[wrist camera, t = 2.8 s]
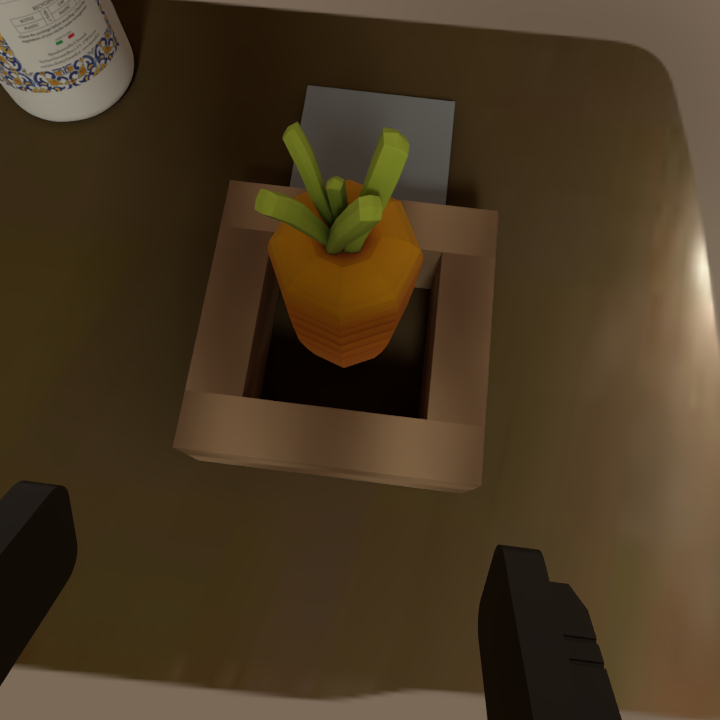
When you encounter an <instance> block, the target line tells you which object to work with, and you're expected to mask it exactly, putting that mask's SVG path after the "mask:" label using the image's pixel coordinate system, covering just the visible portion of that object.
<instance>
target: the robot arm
mask: <svg viewBox="0 0 720 720" xmlns="http://www.w3.org/2000/svg"><path fill="white" fill-rule="evenodd" d="M76 557H77V540H76V534H75V528H74V522H73V516H72V511H71V505H70V499H69V494H68V491H67V489H66V488H65V487H64V486H61V485H53V484H45V483H38V482H30V481H20V482H18V483H16V484H15V485H14V486H13V487H12V488H11V489H10V490H9V491H8V492H7V493H6V494H5V495H4V497H3V498H2V499H1V500H0V686H1V684H2V682H3V681H4V679H5V678H6V676H7V675H8V673H9V672H10V670H11V669H12V667H13V665H14V664H15V662H16V661H17V659H18V658H19V656H20V654H21V653H22V651H23V650H24V648H25V647H26V645H27V644H28V642H29V640H30V639H31V637H32V636H33V634H34V633H35V631H36V630H37V628H38V626H39V625H40V623H41V622H42V620H43V619H44V617H45V615H46V614H47V612H48V611H49V609H50V608H51V606H52V605H53V603H54V601H55V600H56V598H57V597H58V595H59V594H60V592H61V591H62V589H63V587H64V586H65V584H66V583H67V581H68V579H69V578H70V576H71V574H72V571H73V569H74V565H75V562H76ZM478 638H479V647H480V656H481V665H482V674H483V683H484V692H485V701H486V709H487V719H488V720H622V719H621V716H620V713H619V709H618V706H617V703H616V700H615V697H614V693H613V690H612V687H611V684H610V680H609V677H608V674H607V671H606V669H604V661H603V658H602V655H601V651H600V648H599V645H598V644H596V639H597V638H596V635H595V632H594V629H593V626H592V622H591V619H590V616H589V613H588V610H587V609H586V607H585V606H584V604H583V603H582V602H581V600H580V599H579V598H578V596H577V595H576V594H575V592H574V591H573V590H572V588H571V587H570V586H569V584H564V583H556V582H550V581H549V577H548V573H547V569H546V566H545V562H544V558H543V555H542V553H541V551H540V550H536V549H529V548H521V547H513V546H506V545H497V547H496V549H495V552H494V555H493V558H492V562H491V565H490V569H489V572H488V576H487V579H486V583H485V586H484V590H483V593H482V597H481V601H480V606H479V614H478Z"/></svg>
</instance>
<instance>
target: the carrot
mask: <svg viewBox="0 0 720 720" xmlns="http://www.w3.org/2000/svg"><path fill="white" fill-rule="evenodd" d="M283 140H284V143H285V145H286V147H287V149H288V151H289V153H290V155H291V157H292V159H293V161H294V162H295V164H296V166H297V168H298V171H299V173H300V175H301V177H302V180H303V182H304V184H305V187H306V189H307V191H308V192H305V193H302V194H298V195H296V197H295V199H294V198H291V197H289V196H287V195H285V194H283V193H280V192H275V191H270V190H265V189H260V191H259V193H258V195H257V197H256V201H255V210H256V211H258V212H260V213H261V214H263V215H266V216H268V217H270V218H272V219H275V220H278V221H281V222H280V224H279V226H278V227H277V229H276V231H275V232H274V234H273V236H272V237H271V239H270V241H269V244H268V254H269V257H270V260H271V263H272V266H273V269H274V272H275V275H276V278H277V281H278V284H279V287H280V290H281V293H282V296H283V299H284V302H285V305H286V308H287V310H288V313H289V316H290V319H291V322H292V325H293V327H294V330H295V332H296V334H297V336H298V339H299V340H300V341H301V343H302V344H303V345H304V346H305V347H306V348H307V349H309V350H310V351H311V352H312V353H314V354H315V355H317V356H319V357H321V358H323V359H326V360H328V361H330V362H332V363H334V364H336V365H338V366H340V367H342V368H346V367H349V366H352V365H355V364H358V363H361V362H364V361H367V360H370V359H373V358H375V357H376V356H377V355H379V354H380V353H381V352H382V351H383V350H384V349H385V347H386V346H387V345H388V343H389V341H390V339H391V337H392V335H393V333H394V331H395V329H396V327H397V325H398V323H399V321H400V319H401V317H402V315H403V313H404V311H405V309H406V307H407V305H408V302H409V300H410V297H411V295H412V292H413V290H414V287H415V284H416V281H417V278H418V275H419V272H420V269H421V266H422V263H423V254H422V252H421V249H420V247H419V244H418V242H417V239H416V237H415V234H414V232H413V230H412V227H411V225H410V222H409V220H408V218H407V215H406V213H405V210H404V208H403V206H402V203H401V201H399V200H396V199H394V198H392V197H391V195H392V193H393V190H394V188H395V186H396V184H397V182H398V180H399V177H400V175H401V172H402V170H403V167H404V165H405V162H406V160H407V157H408V153H409V146H410V144H409V142H408V139H407V138H406V137H405V136H404V135H403V134H401V133H400V132H399V131H398V130H397V129H392V128H385V127H383V129H382V132H381V135H380V137H379V140H378V143H377V145H376V148H375V151H374V153H373V156H372V159H371V162H370V166H369V169H368V172H367V175H366V178H365V181H364V184H363V185H362V184H359V183H357V182H355V181H353V180H346V181H345V180H344V179H342V178H340V177H338V176H335V177H331V178H329V180H328V181H327V185H326V187H325V184H324V181H323V178H322V175H321V172H320V169H319V166H318V163H317V160H316V157H315V154H314V151H313V149H312V147H311V145H310V143H309V141H308V139H307V137H306V135H305V133H304V131H303V130H302V128H301V127H300V125H299V123H298V122H296V123H294V124H292V125H290V126H288V127H287V129H286V131H285V133H284V134H283Z"/></svg>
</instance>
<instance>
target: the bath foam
mask: <svg viewBox="0 0 720 720" xmlns="http://www.w3.org/2000/svg"><path fill="white" fill-rule="evenodd" d="M115 11H116V10H115V8H114V5H113V3H112V1H111V0H0V83H1V84H2V86H3V87H4V88H5V89H6V91H7V92H8V93H9V95H10V96H11V97H12V98H13V100H14V101H15V102H16V103H17V104H18V105H19V106H20V107H22V108H23V109H24V110H26V111H27V112H29V113H30V114H32V115H34V116H37V117H39V118H42V119H45V120H50V121H56V122H68V121H76V120H83V119H87V118H90V117H93V116H96V115H98V114H100V113H102V112H104V111H105V110H107V109H108V108H110V107H111V106H112V105H114V104H115V103H116V102H117V101H118V100H119V99H120V98H121V97H122V95H123V94H124V93H125V91H126V90H127V88H128V86H129V84H130V82H131V79H132V76H133V71H134V57H133V52H132V49H131V46H130V43H129V41H128V39H127V36H126V34H125V32H124V30H123V27H122V25H121V23H120V21H119V18H118V16H117V14H116V12H115Z"/></svg>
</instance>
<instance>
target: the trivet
mask: <svg viewBox="0 0 720 720" xmlns="http://www.w3.org/2000/svg"><path fill="white" fill-rule="evenodd" d="M454 108H455V102H453V101H444V100H435V99H426V98H417V97H408V96H399V95H390V94H382V93H373V92H364V91H355V90H346V89H337V88H328V87H320V86H311V85H308V87H307V92H306V98H305V103H304V109H303V115H302V120H301V126H300V127H301V128H302V130H303V131H304V133H305V135H306V137H307V139H308V141H309V143H310V145H311V147H312V149H313V151H314V154H315V157H316V160H317V163H318V166H319V169H320V172H321V175H322V178H323V181H324V184H325V187H326V185H327V181H328V180H329V178H331V177H335V176H338V177H340V178H342V179H344V180H345V181H346V180H353V181H355V182H357V183H359V184H362V185H363V184H364V181H365V178H366V175H367V172H368V169H369V166H370V162H371V159H372V156H373V153H374V151H375V148H376V145H377V143H378V140H379V137H380V135H381V132H382V129H383V127H385V128H392V129H397V130H398V131H399V132H400V133H401V134H403V135H404V136H405V137H406V138H407V139H408V142H409V144H410V146H409V153H408V157H407V160H406V162H405V165H404V167H403V170H402V172H401V175H400V177H399V180H398V182H397V184H396V186H395V188H394V190H393V193H392V195H391V197H392V198H394V199H397V200H406V201H414V202H423V203H431V204H440V205H446V195H447V184H448V173H449V162H450V151H451V141H452V130H453V119H454ZM290 187H294V188H303V189H306V187H305V184H304V182H303V180H302V177H301V175H300V173H299V171H298V168H297V166H296V164H295V162H294V164H293V170H292V176H291V181H290Z"/></svg>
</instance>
